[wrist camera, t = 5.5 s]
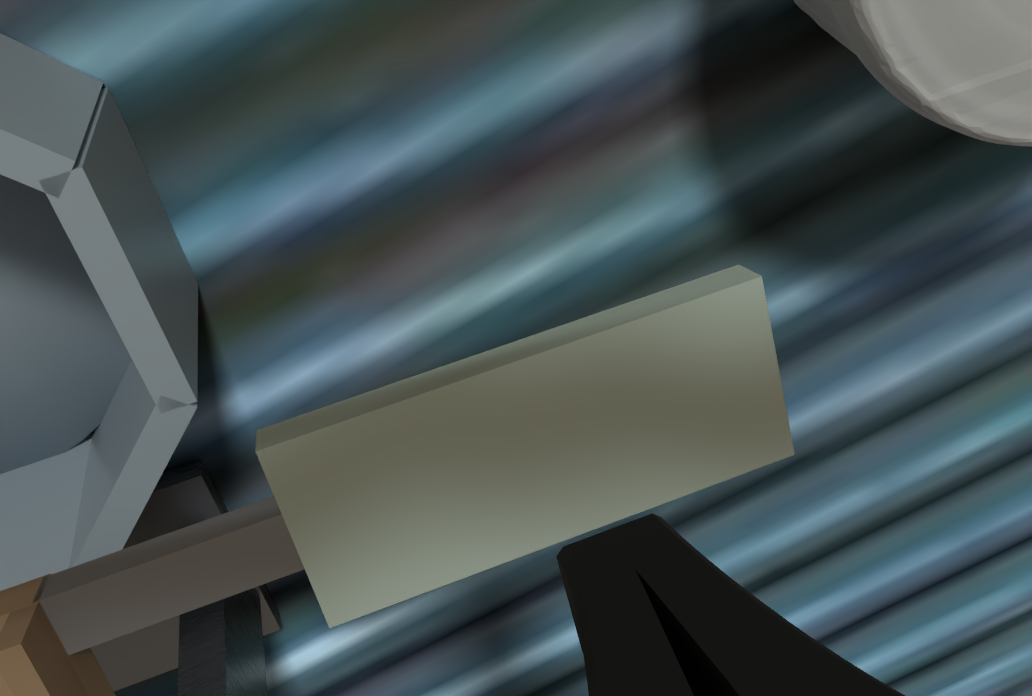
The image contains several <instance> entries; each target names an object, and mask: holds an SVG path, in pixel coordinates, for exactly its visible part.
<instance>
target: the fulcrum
mask: <svg viewBox="0 0 1032 696" xmlns="http://www.w3.org/2000/svg"><path fill="white" fill-rule="evenodd" d="M227 512H228V511H227V509H226V507H225V505H224V503H223V501H222V499H221V497H220V496H219V494H218V492H217V490H216V488H215V486H214V484H213V482H212V480H211V478H210V476H209V474H208V472H207V470H206V468H205V466H204V464H203V462H202V460H198V461H195V462H192V463H189V464H186V465H184V466H181V467H178V468H175V469H172V470H169V471H166V472H163V473H162V475H161V477H160V479H159V481H158V483H157V485H156V487H155V488H154V490H153V492H152V494H151V496H150V498H149V500H148V502H147V504H146V505H145V507H144V509H143V511H142V513H141V515H140V517H139V519H138V521H137V522H136V524H135V526H134V528H133V530H132V532H131V534H130V536H129V538H128V540H127V541H126V543H125V545H124V547H123V549H125V548H128V547H131V546H134V545H136V544H139V543H142V542H145V541H148V540H151V539H153V538H156V537H159V536H162V535H165V534H168V533H170V532H173V531H176V530H179V529H182V528H185V527H187V526H190V525H193V524H196V523H199V522H202V521H204V520H207V519H210V518H213V517H216V516H219V515H221V514H224V513H227ZM279 630H281V627H280V617H279V611H278V609H277V607H276V605H275V603H274V601H273V599H272V597H271V595H270V594H269V592H268V590H267V588H266V586H265V584H263V585H260V586H257V587H255V588H252V589H249V590H246V591H244V592H241V593H238V594H235V595H233V596H230V597H227V598H225V599H222V600H219V601H216V602H214V603H211V604H208V605H205V606H203V607H200V608H197V609H194V610H192V611H189V612H186V613H183V614H181V615H178V616H175V617H172V618H170V619H167V620H164V621H161V622H159V623H156V624H153V625H150V626H148V627H145V628H142V629H139V630H137V631H134V632H131V633H128V634H126V635H123V636H120V637H117V638H115V639H112V640H109V641H107V642H104V643H101V644H98V645H96V646H93V647H90V648H91V650H92V652H93V654H94V656H95V657H96V659H97V661H98V663H99V665H100V667H101V669H102V670H103V672H104V674H105V676H106V678H107V680H108V682H109V684H110V685H111V687H112V689H113V691H117V690H120V689H122V688H125V687H128V686H130V685H133V684H136V683H139V682H141V681H144V680H147V679H149V678H152V677H155V676H157V675H160V674H163V673H165V672H168V671H171V670H174V669H176V668H178V689H177V696H267V685H266V672H265V658H264V645H263V636H265V635H268V634H270V633H273V632H276V631H279Z"/></svg>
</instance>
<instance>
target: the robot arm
mask: <svg viewBox="0 0 1032 696" xmlns="http://www.w3.org/2000/svg"><path fill="white" fill-rule="evenodd" d="M557 560H558V564H559V567H560V571H561V575H562V578H563V582H564V586H565V590H566V593H567V597H568V601H569V604H570V608H571V612H572V615H573V619H574V623H575V626H576V630H577V634H578V637H579V641H580V645H581V648H582V652H583V654H584V660H585V668H586V675H587V682H588V691H589V696H905V695H903V694H901V693H900V692H898V691H896V690H894V689H892V688H891V687H889V686H887V685H885V684H884V683H882V682H880V681H879V680H877V679H875V678H874V677H872V676H870V675H869V674H867V673H866V672H864V671H862V670H861V669H859V668H858V667H856V666H854V665H853V664H851V663H850V662H848V661H846V660H845V659H843V658H842V657H840V656H839V655H837V654H836V653H834V652H833V651H831V650H830V649H828V648H827V647H825V646H824V645H822V644H820V643H819V642H817V641H816V640H814V639H813V638H811V637H810V636H808V635H807V634H806V633H804V632H803V631H801V630H800V629H798V628H797V627H796V626H794V625H793V624H791V623H790V622H788V621H787V620H786V619H784V618H783V617H782V616H780V615H779V614H778V613H776V612H775V611H774V610H772V609H771V608H769V607H768V606H767V605H765V604H764V603H763V602H761V601H760V600H759V599H757V598H756V597H755V596H753V595H752V594H751V593H749V592H748V591H747V590H745V589H744V588H743V587H741V586H740V585H739V584H738V583H736V582H735V581H734V580H733V579H731V578H730V577H729V576H728V575H726V574H725V573H724V572H723V571H721V570H720V569H719V568H718V567H717V566H715V565H714V564H713V563H712V562H710V561H709V560H708V559H707V558H706V557H704V556H703V555H702V554H701V553H700V552H699V551H697V550H696V549H695V548H694V547H693V546H692V545H691V544H689V543H688V542H687V541H686V540H685V539H684V538H683V537H682V536H680V535H679V534H678V533H677V532H676V531H675V530H674V529H673V528H672V527H671V526H670V525H669V524H668V523H666V522H665V521H664V520H663V519H662V518H661V517H659V516H657V515H654V514H650V515H647V516H644V517H642V518H639V519H636V520H634V521H631V522H628V523H626V524H623V525H620V526H618V527H615V528H612V529H610V530H607V531H604V532H602V533H599V534H596V535H594V536H591V537H588V538H586V539H583V540H580V541H578V542H575V543H572V544H570V545H567V546H564V547H563V548H562V549H561V551H560V552H559V554H558V555H557Z"/></svg>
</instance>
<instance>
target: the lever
mask: <svg viewBox="0 0 1032 696" xmlns="http://www.w3.org/2000/svg"><path fill="white" fill-rule="evenodd" d="M256 454H257V456H258V459H259V461H260V463H261V466H262V468H263V471H264V473H265V475H266V478H267V480H268V483H269V485H270V487H271V490H272V492H273V495H274V496H272V497H270V498H267V499H264V500H261V501H258V502H255V503H253V504H250V505H247V506H244V507H241V508H238V509H236V510H233V511H230V512H227V513H224V514H221V515H219V516H216V517H213V518H210V519H207V520H204V521H202V522H199V523H196V524H193V525H190V526H187V527H185V528H182V529H179V530H176V531H173V532H170V533H168V534H165V535H162V536H159V537H156V538H153V539H151V540H148V541H145V542H142V543H139V544H136V545H134V546H131V547H128V548H125V549H122V550H119V551H117V552H114V553H111V554H108V555H105V556H102V557H100V558H97V559H94V560H91V561H88V562H85V563H83V564H80V565H77V566H74V567H71V568H68V569H66V570H63V571H60V572H57V573H54V574H51V573H50V574H47V575H44V576H42V577H39V578H36V579H33V580H30V581H27V582H25V583H22V584H19V585H16V586H13V587H10V588H8V589H5V590H2V591H0V696H116V695H115V693H114V691H113V689H112V687H111V685H110V684H109V682H108V680H107V678H106V676H105V674H104V672H103V670H102V669H101V667H100V665H99V663H98V661H97V659H96V657H95V656H94V654H93V652H92V650H91V648H90V647H93V646H96V645H98V644H101V643H104V642H107V641H109V640H112V639H115V638H117V637H120V636H123V635H126V634H128V633H131V632H134V631H137V630H139V629H142V628H145V627H148V626H150V625H153V624H156V623H159V622H161V621H164V620H167V619H170V618H172V617H175V616H178V615H181V614H183V613H186V612H189V611H192V610H194V609H197V608H200V607H203V606H205V605H208V604H211V603H214V602H216V601H219V600H222V599H225V598H227V597H230V596H233V595H235V594H238V593H241V592H244V591H246V590H249V589H252V588H255V587H257V586H260V585H263V584H266V583H268V582H271V581H274V580H277V579H279V578H282V577H285V576H288V575H290V574H293V573H296V572H299V571H301V570H304V569H305V571H306V573H307V576H308V578H309V581H310V583H311V585H312V588H313V590H314V593H315V595H316V597H317V600H318V602H319V605H320V607H321V609H322V612H323V614H324V616H325V619H326V621H327V624H328V626H329V628H332V627H334V626H337V625H340V624H343V623H345V622H348V621H351V620H353V619H356V618H359V617H361V616H364V615H367V614H369V613H372V612H375V611H377V610H380V609H383V608H385V607H388V606H391V605H393V604H396V603H399V602H401V601H404V600H407V599H409V598H412V597H415V596H417V595H420V594H423V593H426V592H428V591H431V590H434V589H436V588H439V587H442V586H444V585H447V584H450V583H452V582H455V581H458V580H460V579H463V578H466V577H468V576H471V575H474V574H476V573H479V572H482V571H484V570H487V569H490V568H492V567H495V566H498V565H500V564H503V563H506V562H509V561H511V560H514V559H517V558H519V557H522V556H525V555H527V554H530V553H533V552H535V551H538V550H541V549H543V548H546V547H549V546H551V545H554V544H557V543H559V542H562V541H565V540H567V539H570V538H573V537H575V536H578V535H581V534H583V533H586V532H589V531H591V530H594V529H597V528H600V527H602V526H605V525H608V524H610V523H613V522H616V521H618V520H621V519H624V518H626V517H629V516H632V515H634V514H637V513H640V512H642V511H645V510H648V509H650V508H653V507H656V506H658V505H661V504H664V503H666V502H669V501H672V500H674V499H677V498H680V497H683V496H685V495H688V494H691V493H693V492H696V491H699V490H701V489H704V488H707V487H709V486H712V485H715V484H717V483H720V482H723V481H725V480H728V479H731V478H733V477H736V476H739V475H741V474H744V473H747V472H749V471H752V470H755V469H757V468H760V467H763V466H765V465H768V464H771V463H774V462H776V461H779V460H782V459H784V458H787V457H790V456H792V455H795V454H794V449H793V444H792V438H791V433H790V427H789V422H788V416H787V411H786V405H785V400H784V395H783V389H782V384H781V378H780V373H779V367H778V362H777V357H776V351H775V346H774V340H773V335H772V329H771V324H770V318H769V313H768V308H767V302H766V297H765V291H764V286H763V280H762V276H760V275H758V274H756V273H754V272H752V271H750V270H748V269H746V268H745V267H743V266H741V265H736V266H733V267H730V268H727V269H724V270H722V271H719V272H716V273H713V274H710V275H707V276H704V277H701V278H698V279H695V280H692V281H689V282H687V283H684V284H681V285H678V286H675V287H672V288H669V289H666V290H663V291H660V292H657V293H655V294H652V295H649V296H646V297H643V298H640V299H637V300H634V301H631V302H628V303H625V304H623V305H620V306H617V307H614V308H611V309H608V310H605V311H602V312H599V313H596V314H593V315H591V316H588V317H585V318H582V319H579V320H576V321H573V322H570V323H567V324H564V325H561V326H559V327H556V328H553V329H550V330H547V331H544V332H541V333H538V334H535V335H532V336H529V337H527V338H524V339H521V340H518V341H515V342H512V343H509V344H506V345H503V346H500V347H497V348H495V349H492V350H489V351H486V352H483V353H480V354H477V355H474V356H471V357H468V358H465V359H463V360H460V361H457V362H454V363H451V364H448V365H445V366H442V367H439V368H436V369H433V370H431V371H428V372H425V373H422V374H419V375H416V376H413V377H410V378H407V379H404V380H401V381H399V382H396V383H393V384H390V385H387V386H384V387H381V388H378V389H375V390H372V391H369V392H367V393H364V394H361V395H358V396H355V397H352V398H349V399H346V400H343V401H340V402H337V403H334V404H332V405H329V406H326V407H323V408H320V409H317V410H314V411H311V412H308V413H305V414H302V415H300V416H297V417H294V418H291V419H288V420H285V421H282V422H279V423H276V424H273V425H270V426H268V427H265V428H262V429H259V430H257V435H256Z"/></svg>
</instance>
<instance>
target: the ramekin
mask: <svg viewBox="0 0 1032 696" xmlns="http://www.w3.org/2000/svg"><path fill="white" fill-rule="evenodd" d="M793 1H794V2H795V3H796V5H797V6H798V7H799V8H800V9H801V10H803V11H804V12H805V13H806V14H808V15H809V16H810V17H812V19H813V20H814V21H815V22H816V23H817V24H818V25H819V26H820V27H821V28H822V29H824V30H825V31H826V32H827V33H829V34H830V35H831V36H832V37H834V38H835V39H836V40H837V41H839V42H840V43H841V44H843V45H844V46H845V47H846V48H848V49H849V50H850V51H851V52H853V53H854V54H855V55H857V57H858V58H859V60H860V61H861V62H862V63H863V65H864V66H865V67H866V68H867V70H868V71H869V72H870V73H871V74H872V76H873V77H874V78H875V79H876V80H877V81H878V82H879V83H880V84H881V85H882V86H883V87H884V88H885V89H886V90H887V91H888V92H889V93H891V94H892V95H893V96H894V97H895V98H897V99H898V100H899V101H900V102H902V103H903V104H904V105H906V106H907V107H909V108H911V109H912V110H914V111H915V112H917V113H918V114H920V115H922V116H923V117H925V118H927V119H929V120H931V121H933V122H935V123H937V124H940V125H942V126H944V127H947V128H949V129H952V130H954V131H956V132H959V133H961V134H964V135H967V136H969V137H973V138H976V139H979V140H982V141H986V142H991V143H995V144H1004V145H1013V146H1031V147H1032V0H793Z"/></svg>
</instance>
